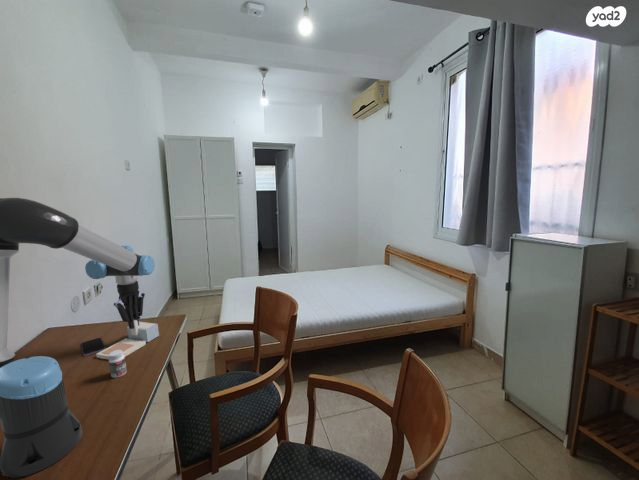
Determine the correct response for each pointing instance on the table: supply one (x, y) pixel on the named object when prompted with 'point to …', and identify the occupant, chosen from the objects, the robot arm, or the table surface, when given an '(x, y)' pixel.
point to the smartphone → (92, 346)
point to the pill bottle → (117, 363)
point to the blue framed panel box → (145, 332)
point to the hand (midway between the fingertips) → (135, 334)
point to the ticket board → (122, 347)
